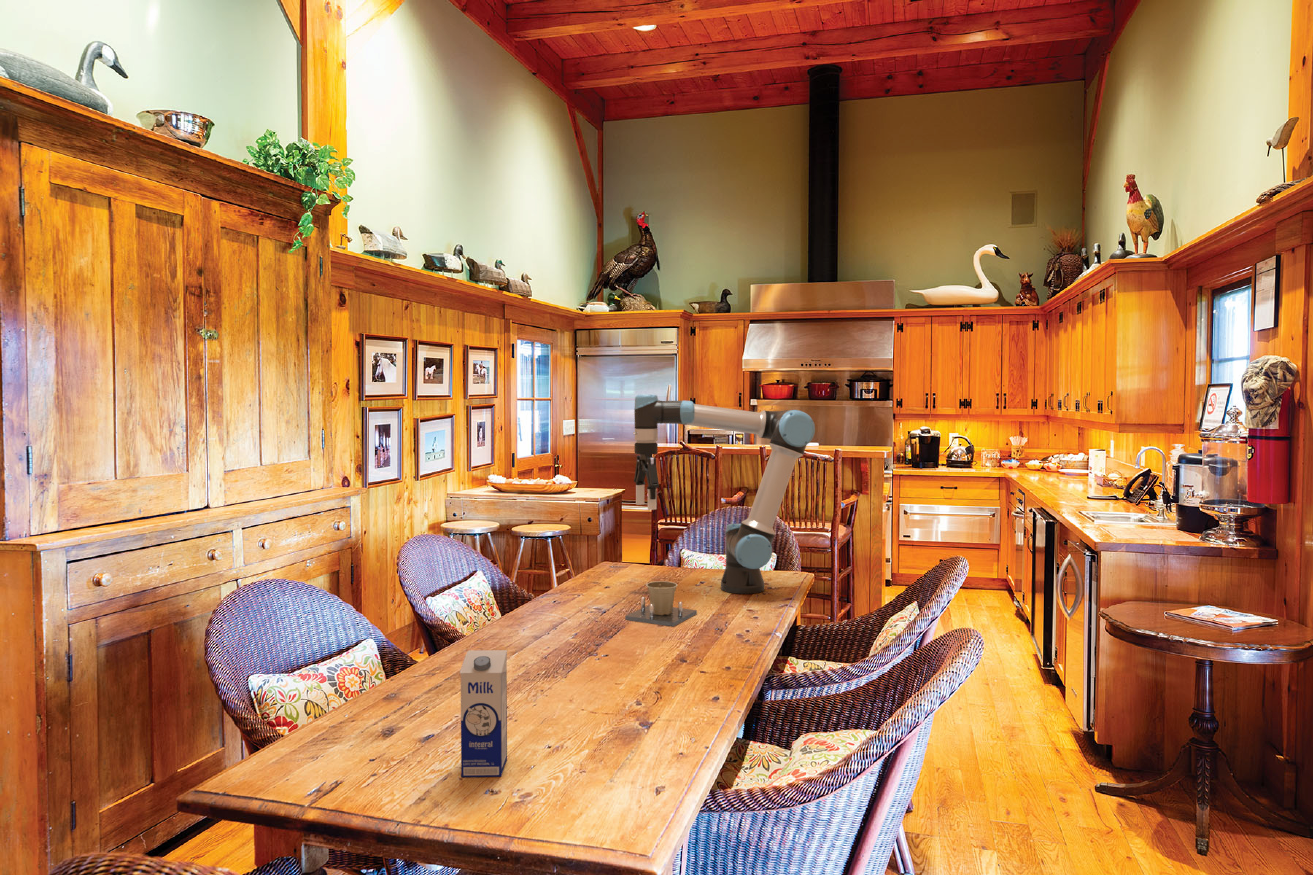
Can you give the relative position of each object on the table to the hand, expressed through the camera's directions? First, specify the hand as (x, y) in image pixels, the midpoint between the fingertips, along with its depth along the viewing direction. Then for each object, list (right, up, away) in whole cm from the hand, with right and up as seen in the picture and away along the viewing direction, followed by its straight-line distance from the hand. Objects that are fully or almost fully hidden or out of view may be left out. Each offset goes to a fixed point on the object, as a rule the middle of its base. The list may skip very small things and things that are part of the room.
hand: (646, 507), depth 259 cm
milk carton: (-26, -35, -120) cm, 128 cm away
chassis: (+5, -31, -20) cm, 37 cm away
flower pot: (+5, -30, -20) cm, 37 cm away
